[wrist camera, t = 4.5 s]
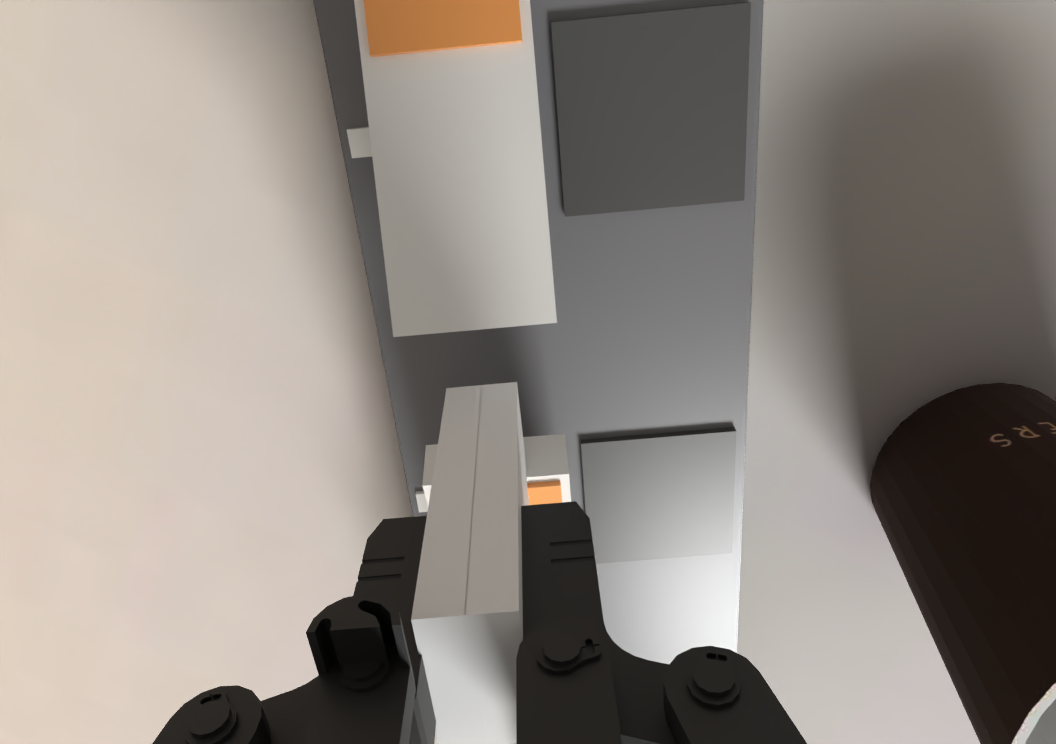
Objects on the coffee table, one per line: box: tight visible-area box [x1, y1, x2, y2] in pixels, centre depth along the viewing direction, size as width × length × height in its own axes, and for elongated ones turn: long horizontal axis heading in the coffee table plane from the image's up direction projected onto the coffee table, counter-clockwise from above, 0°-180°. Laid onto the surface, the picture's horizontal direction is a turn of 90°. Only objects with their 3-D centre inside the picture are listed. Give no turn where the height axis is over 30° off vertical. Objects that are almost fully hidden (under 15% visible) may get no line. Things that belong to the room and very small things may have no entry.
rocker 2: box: [422, 434, 571, 506], centre depth 20 cm, size 7×3×1 cm, turn 6°
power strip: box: [314, 0, 763, 664], centre depth 24 cm, size 36×9×4 cm, turn 5°
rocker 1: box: [354, 0, 557, 337], centre depth 15 cm, size 7×3×1 cm, turn 5°
